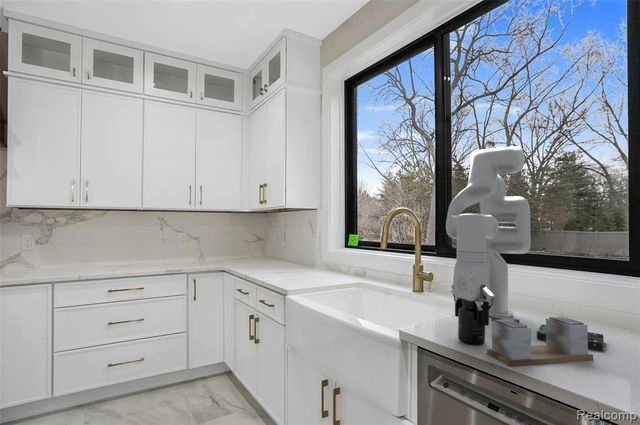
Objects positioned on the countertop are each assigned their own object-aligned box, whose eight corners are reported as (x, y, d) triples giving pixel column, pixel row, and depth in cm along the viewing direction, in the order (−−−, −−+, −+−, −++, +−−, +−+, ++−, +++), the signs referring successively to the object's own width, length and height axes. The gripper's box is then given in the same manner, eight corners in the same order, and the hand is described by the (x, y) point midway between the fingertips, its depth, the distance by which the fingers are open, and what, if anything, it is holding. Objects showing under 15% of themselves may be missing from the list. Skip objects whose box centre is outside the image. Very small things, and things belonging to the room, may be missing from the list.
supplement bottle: (452, 339, 100) (452, 296, 100) (471, 336, 102) (471, 294, 102) (471, 347, 93) (470, 301, 94) (491, 344, 96) (490, 299, 96)
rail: (486, 353, 88) (486, 319, 89) (564, 348, 93) (563, 315, 94) (510, 366, 81) (510, 328, 81) (593, 359, 85) (592, 323, 86)
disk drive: (603, 344, 99) (541, 332, 108) (603, 334, 99) (541, 323, 108) (603, 354, 91) (536, 341, 100) (603, 343, 91) (536, 331, 100)
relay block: (491, 333, 106) (491, 316, 106) (499, 331, 108) (499, 314, 108) (511, 339, 101) (511, 321, 101) (519, 336, 103) (519, 319, 103)
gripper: (441, 255, 106) (441, 313, 105) (479, 260, 89) (479, 330, 88) (464, 255, 108) (464, 313, 107) (505, 261, 91) (505, 329, 90)
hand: (471, 320), depth 97 cm, fingers open, 9 cm apart
